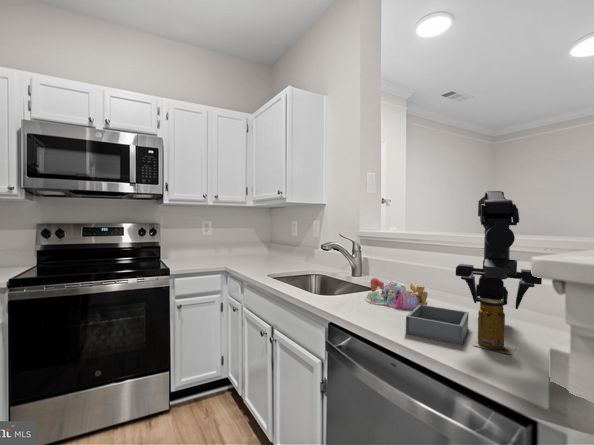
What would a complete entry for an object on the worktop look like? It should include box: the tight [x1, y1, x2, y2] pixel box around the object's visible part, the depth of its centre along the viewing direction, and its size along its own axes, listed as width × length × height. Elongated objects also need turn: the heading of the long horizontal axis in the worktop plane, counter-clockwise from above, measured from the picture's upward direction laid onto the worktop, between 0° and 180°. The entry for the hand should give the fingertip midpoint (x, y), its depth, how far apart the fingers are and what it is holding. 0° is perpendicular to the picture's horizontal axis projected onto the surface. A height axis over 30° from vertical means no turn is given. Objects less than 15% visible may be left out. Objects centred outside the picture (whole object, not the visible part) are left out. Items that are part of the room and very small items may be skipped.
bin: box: [405, 304, 469, 346], centre depth 94 cm, size 17×15×5 cm
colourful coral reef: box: [364, 277, 429, 310], centre depth 128 cm, size 25×24×9 cm
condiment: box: [473, 299, 517, 355], centre depth 82 cm, size 7×8×12 cm
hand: (495, 305), depth 82 cm, fingers open, 9 cm apart
